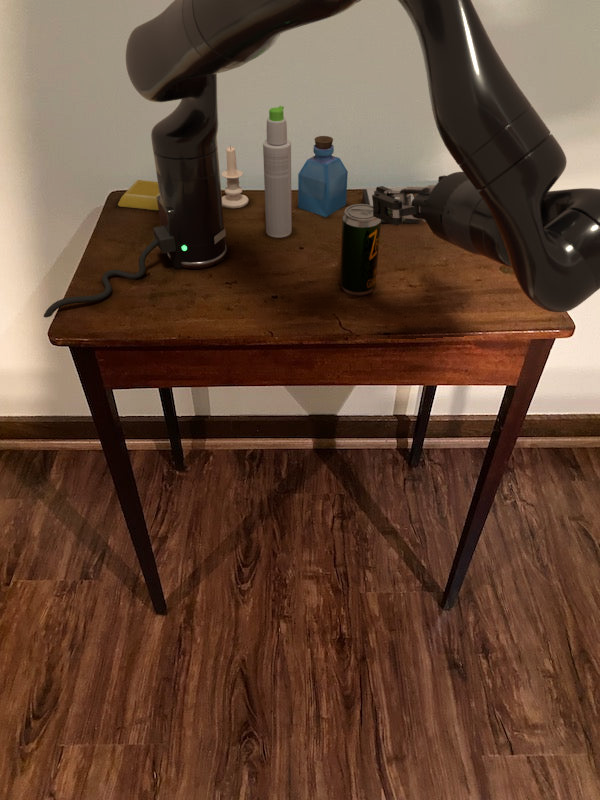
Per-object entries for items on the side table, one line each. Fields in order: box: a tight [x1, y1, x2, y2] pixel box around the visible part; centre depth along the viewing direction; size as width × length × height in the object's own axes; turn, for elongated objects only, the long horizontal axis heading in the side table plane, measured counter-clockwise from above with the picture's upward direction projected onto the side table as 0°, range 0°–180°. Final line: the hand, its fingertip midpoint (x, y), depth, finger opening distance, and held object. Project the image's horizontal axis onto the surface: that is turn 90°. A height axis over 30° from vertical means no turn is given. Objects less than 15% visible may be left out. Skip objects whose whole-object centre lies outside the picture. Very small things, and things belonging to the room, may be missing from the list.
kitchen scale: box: [361, 187, 420, 225], centre depth 117 cm, size 9×9×3 cm
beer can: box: [339, 203, 382, 297], centre depth 96 cm, size 5×5×12 cm
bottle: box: [262, 105, 293, 239], centre depth 106 cm, size 4×4×20 cm
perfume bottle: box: [297, 135, 349, 218], centre depth 116 cm, size 6×6×12 cm
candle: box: [221, 144, 250, 209], centre depth 118 cm, size 5×5×10 cm
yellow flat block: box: [117, 179, 160, 211], centre depth 122 cm, size 9×9×2 cm
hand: (409, 189), depth 84 cm, fingers open, 8 cm apart
